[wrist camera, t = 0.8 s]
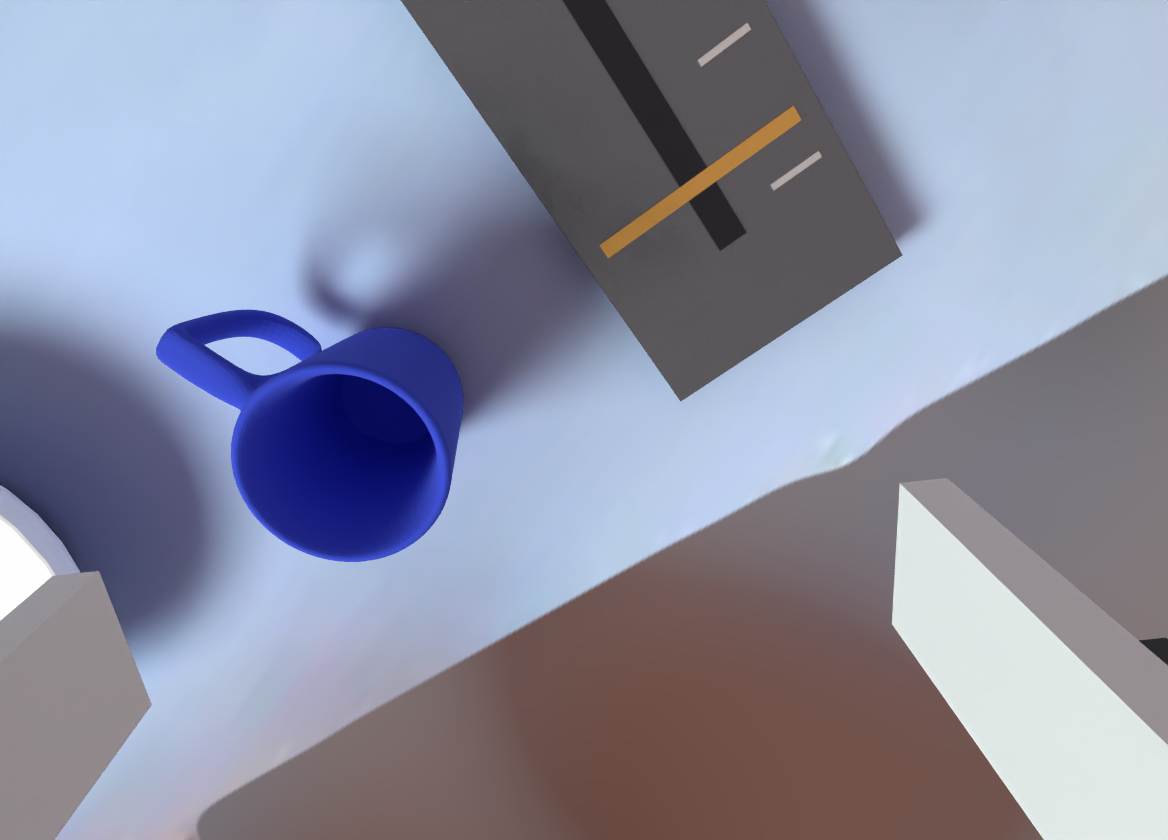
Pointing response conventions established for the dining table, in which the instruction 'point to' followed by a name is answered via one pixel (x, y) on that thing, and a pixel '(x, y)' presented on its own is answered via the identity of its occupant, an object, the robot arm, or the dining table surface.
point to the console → (672, 163)
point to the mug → (333, 431)
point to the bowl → (26, 552)
